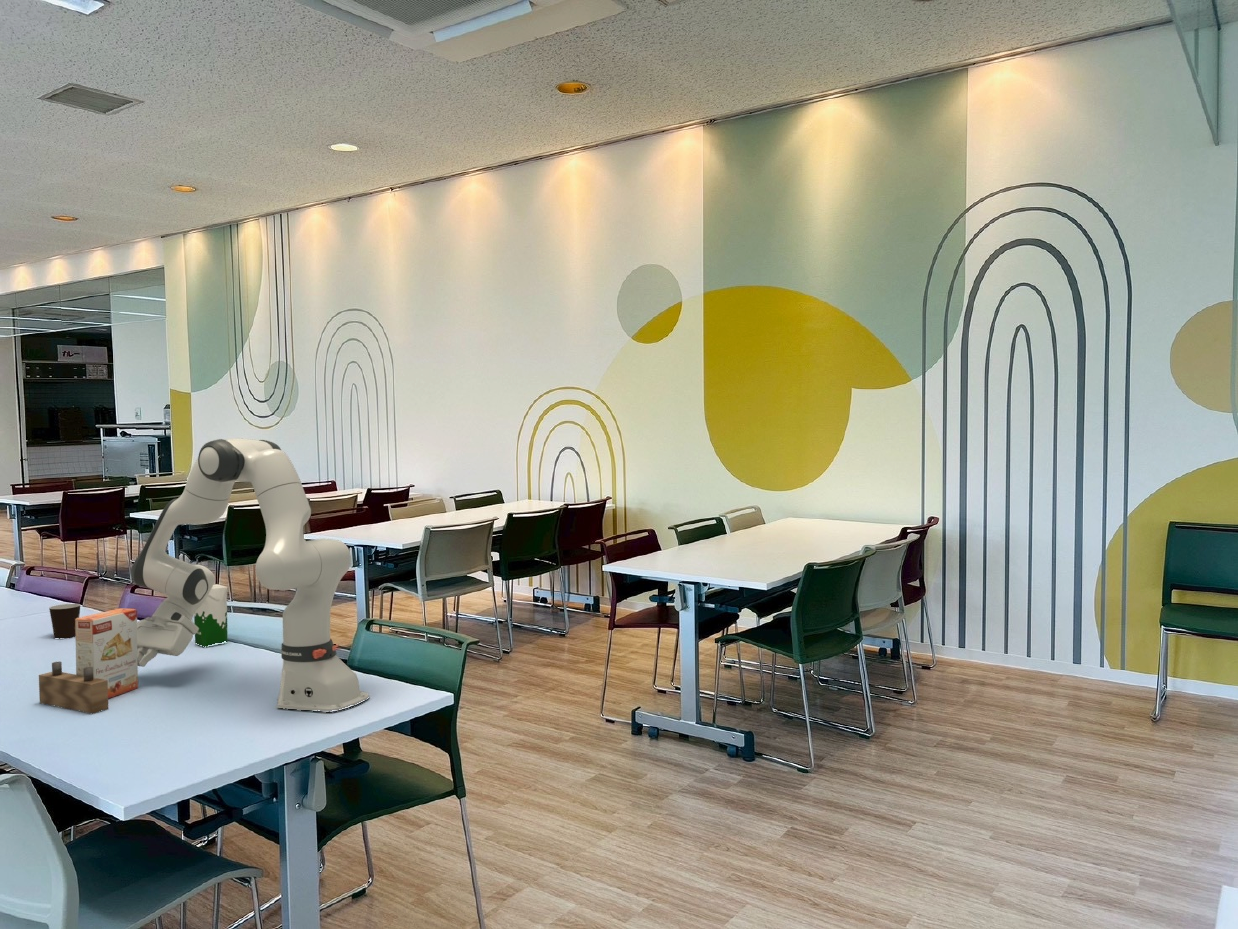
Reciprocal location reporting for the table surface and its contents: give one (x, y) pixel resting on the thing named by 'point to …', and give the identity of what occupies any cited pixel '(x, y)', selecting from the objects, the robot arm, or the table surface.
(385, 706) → the table surface
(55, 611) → the coffee mug
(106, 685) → the walnut bar
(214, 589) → the milk carton
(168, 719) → the table surface
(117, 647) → the cracker box
